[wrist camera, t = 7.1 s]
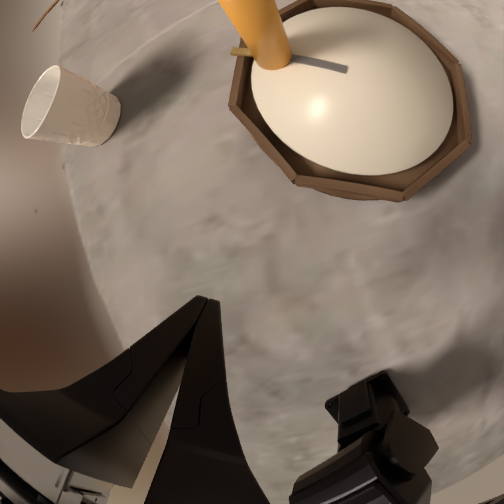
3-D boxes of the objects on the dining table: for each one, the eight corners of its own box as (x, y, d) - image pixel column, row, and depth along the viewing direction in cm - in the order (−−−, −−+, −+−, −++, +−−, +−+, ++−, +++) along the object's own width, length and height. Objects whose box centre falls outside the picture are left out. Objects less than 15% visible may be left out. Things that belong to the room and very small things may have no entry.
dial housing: (487, 127, 15) (506, 115, 11) (339, 249, 20) (341, 254, 17) (349, -4, 16) (349, -26, 13) (206, 87, 22) (188, 70, 18)
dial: (449, 198, 15) (530, 182, 6) (239, 160, 19) (166, 116, 10) (437, 33, 13) (465, -34, 4) (267, 9, 17) (232, -62, 8)
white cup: (130, 84, 24) (69, 53, 15) (119, 146, 25) (47, 127, 16) (89, 100, 27) (32, 80, 17) (78, 155, 28) (15, 145, 18)
